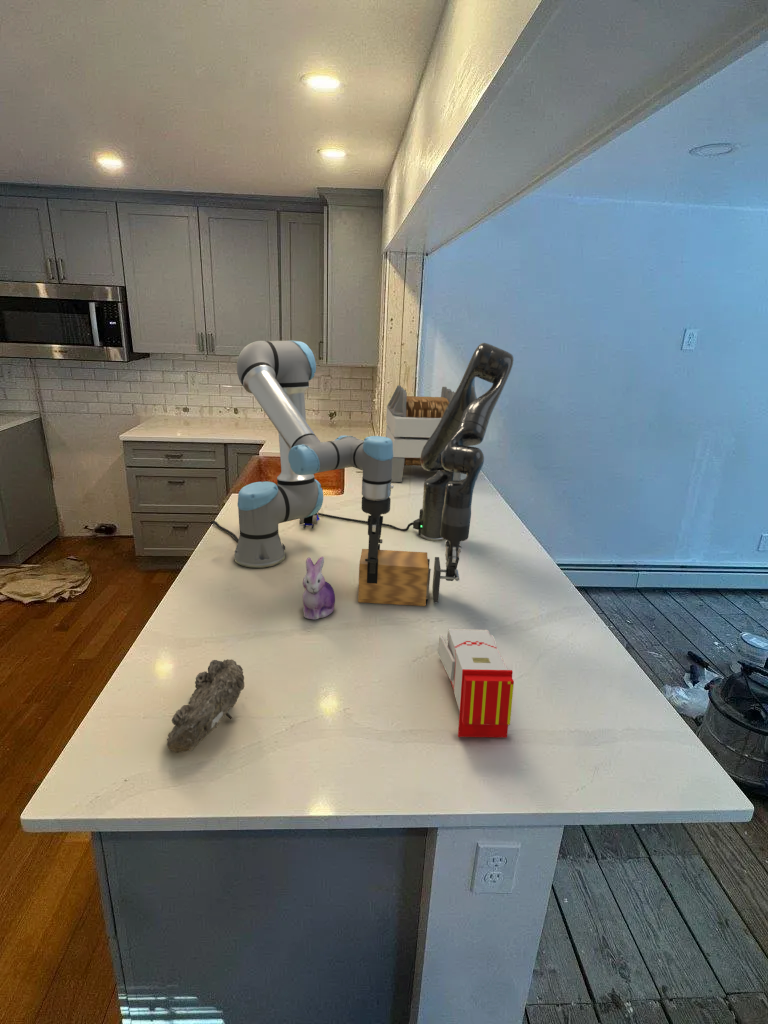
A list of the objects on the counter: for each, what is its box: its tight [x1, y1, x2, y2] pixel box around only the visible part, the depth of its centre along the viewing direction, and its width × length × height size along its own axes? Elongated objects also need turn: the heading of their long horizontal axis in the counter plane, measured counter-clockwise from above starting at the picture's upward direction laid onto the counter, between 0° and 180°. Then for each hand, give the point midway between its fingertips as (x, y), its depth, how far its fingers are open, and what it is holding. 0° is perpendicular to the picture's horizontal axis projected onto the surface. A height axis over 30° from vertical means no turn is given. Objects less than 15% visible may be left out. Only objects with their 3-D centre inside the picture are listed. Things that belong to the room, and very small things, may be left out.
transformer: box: [385, 384, 462, 483], centre depth 268 cm, size 34×33×41 cm
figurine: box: [302, 556, 336, 621], centre depth 144 cm, size 9×10×15 cm
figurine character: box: [298, 512, 320, 530], centre depth 204 cm, size 7×8×15 cm
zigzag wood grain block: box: [357, 548, 429, 607], centre depth 155 cm, size 18×10×11 cm, turn 88°
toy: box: [437, 628, 515, 738], centre depth 117 cm, size 12×13×30 cm
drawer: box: [426, 556, 460, 603], centre depth 155 cm, size 22×9×10 cm, turn 88°
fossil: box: [166, 658, 245, 754], centre depth 106 cm, size 22×10×15 cm
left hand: (373, 573), depth 155 cm, fingers closed on zigzag wood grain block, 10 cm apart
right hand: (449, 579), depth 155 cm, fingers closed
